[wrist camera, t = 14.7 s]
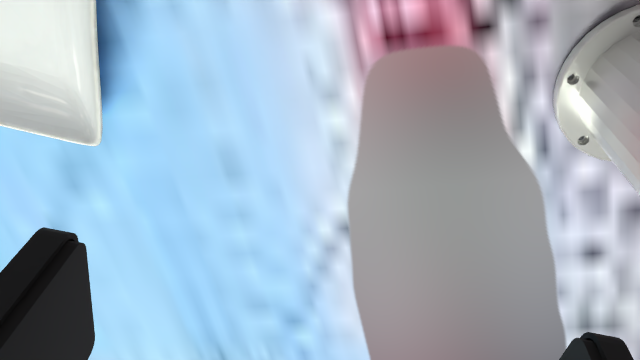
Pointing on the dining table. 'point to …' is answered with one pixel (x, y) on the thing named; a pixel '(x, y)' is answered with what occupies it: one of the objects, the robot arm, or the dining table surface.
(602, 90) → the robot arm
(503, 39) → the dining table surface
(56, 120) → the square plate
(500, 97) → the dining table surface
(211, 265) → the dining table surface
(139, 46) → the dining table surface
